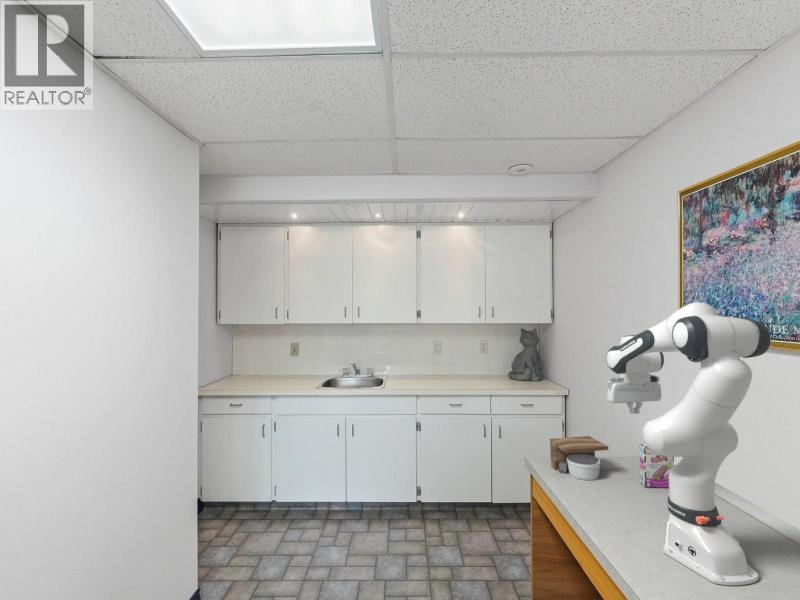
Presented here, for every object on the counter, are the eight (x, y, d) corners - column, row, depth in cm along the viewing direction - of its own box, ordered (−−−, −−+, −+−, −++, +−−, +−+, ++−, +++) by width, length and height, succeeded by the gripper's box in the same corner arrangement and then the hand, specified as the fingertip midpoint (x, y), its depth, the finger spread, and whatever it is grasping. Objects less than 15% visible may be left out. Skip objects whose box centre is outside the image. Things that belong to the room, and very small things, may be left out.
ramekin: (560, 471, 179) (559, 456, 179) (584, 467, 183) (583, 451, 183) (583, 484, 166) (582, 467, 166) (608, 478, 171) (607, 462, 171)
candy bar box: (645, 488, 161) (644, 446, 161) (639, 482, 166) (638, 442, 166) (675, 488, 160) (674, 446, 160) (668, 483, 165) (667, 442, 165)
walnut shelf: (609, 475, 173) (608, 446, 173) (567, 479, 171) (566, 449, 171) (590, 463, 187) (589, 436, 187) (550, 466, 185) (550, 438, 185)
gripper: (613, 380, 152) (614, 417, 151) (663, 377, 154) (665, 414, 154) (603, 377, 158) (604, 412, 158) (651, 374, 160) (652, 409, 160)
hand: (634, 413), depth 156 cm, fingers closed
